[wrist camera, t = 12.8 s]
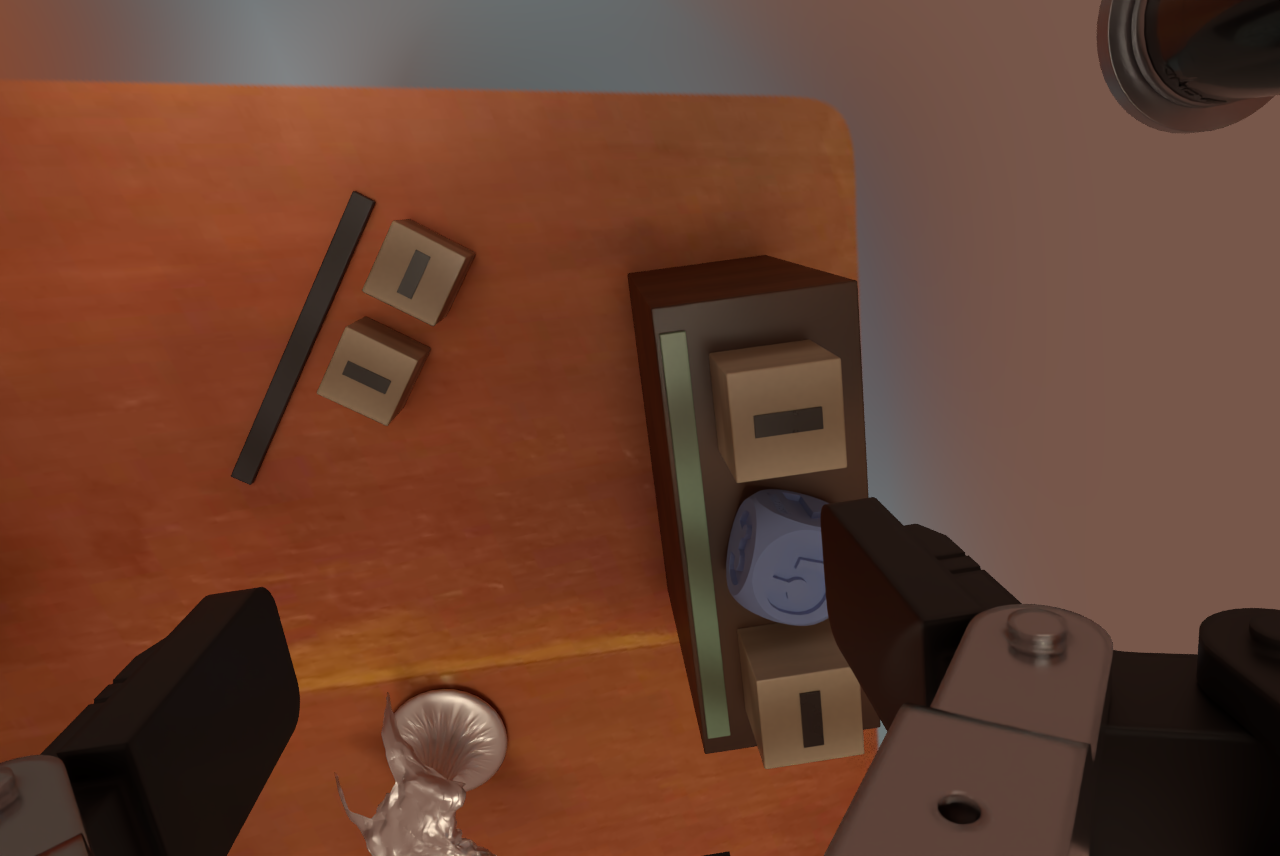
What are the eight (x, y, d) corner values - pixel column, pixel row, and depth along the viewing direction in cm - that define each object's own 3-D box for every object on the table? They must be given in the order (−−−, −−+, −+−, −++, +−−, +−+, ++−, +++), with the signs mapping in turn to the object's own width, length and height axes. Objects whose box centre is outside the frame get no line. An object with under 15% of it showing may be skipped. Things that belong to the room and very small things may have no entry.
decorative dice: (836, 499, 34) (870, 537, 30) (810, 586, 35) (839, 634, 31) (743, 481, 33) (764, 518, 29) (719, 570, 34) (737, 617, 30)
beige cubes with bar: (355, 190, 44) (333, 189, 40) (476, 252, 46) (466, 257, 42) (233, 473, 48) (202, 498, 44) (348, 524, 49) (328, 552, 45)
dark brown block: (627, 273, 46) (660, 323, 27) (766, 254, 47) (897, 291, 27) (667, 590, 52) (720, 821, 32) (792, 572, 52) (916, 790, 33)
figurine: (404, 652, 52) (366, 748, 43) (565, 736, 54) (562, 845, 45) (344, 743, 53) (295, 856, 44) (504, 821, 56) (489, 944, 46)
